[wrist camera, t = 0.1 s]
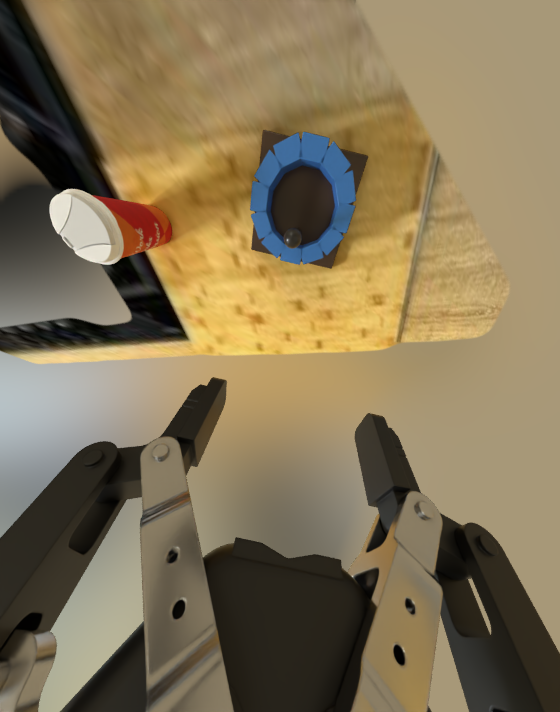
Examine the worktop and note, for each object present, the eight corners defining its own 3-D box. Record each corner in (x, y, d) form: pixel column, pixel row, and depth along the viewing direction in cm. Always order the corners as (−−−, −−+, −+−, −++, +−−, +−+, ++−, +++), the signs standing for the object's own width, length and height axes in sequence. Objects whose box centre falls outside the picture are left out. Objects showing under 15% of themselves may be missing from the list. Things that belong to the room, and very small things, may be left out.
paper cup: (156, 258, 38) (90, 276, 26) (124, 212, 34) (30, 210, 22) (187, 238, 35) (129, 249, 24) (156, 186, 31) (69, 170, 20)
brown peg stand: (264, 132, 27) (234, 76, 16) (366, 157, 27) (404, 119, 16) (252, 248, 35) (227, 263, 24) (330, 267, 35) (340, 290, 24)
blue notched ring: (264, 132, 26) (257, 120, 22) (366, 157, 26) (374, 149, 23) (252, 248, 34) (246, 252, 30) (330, 267, 34) (333, 272, 31)
